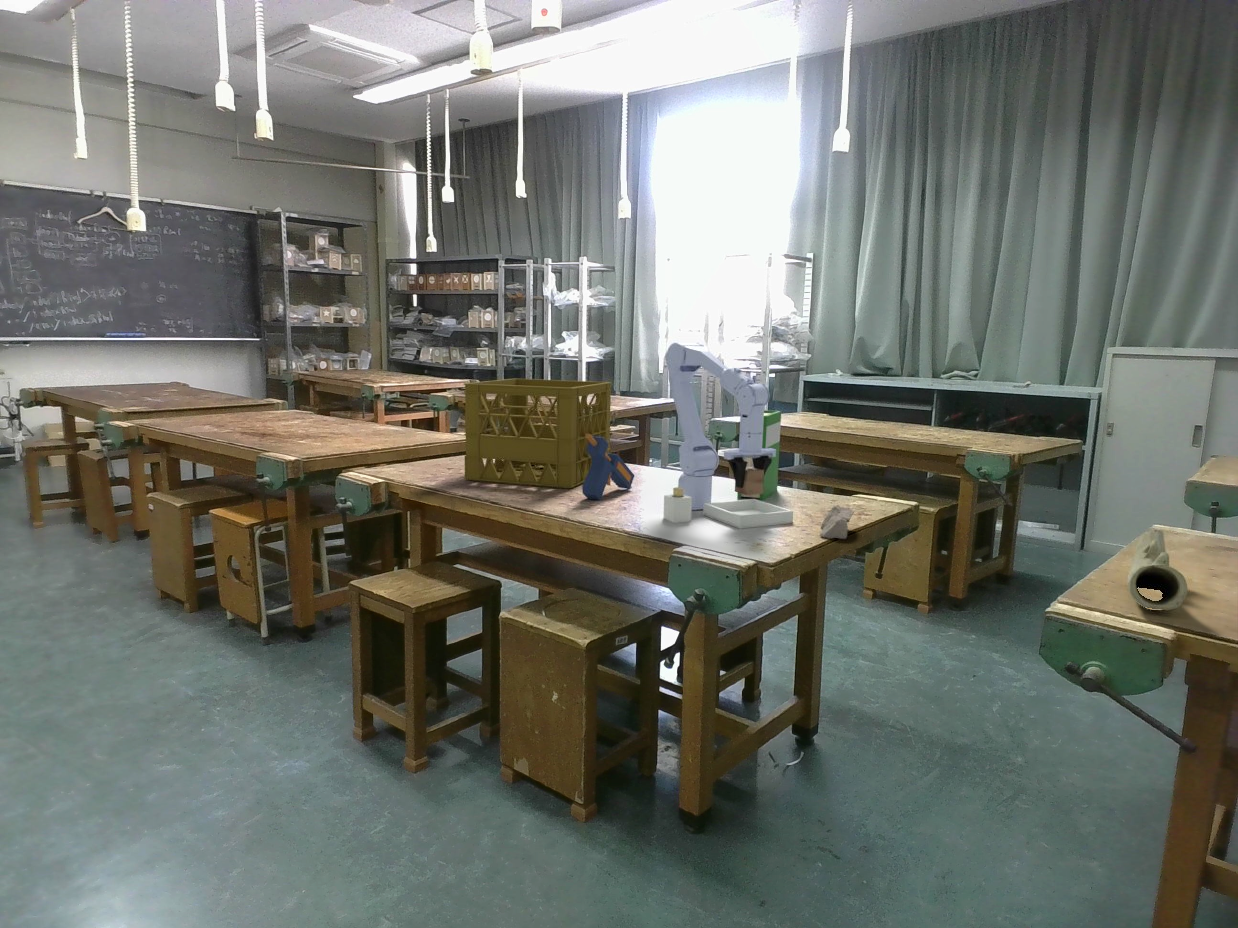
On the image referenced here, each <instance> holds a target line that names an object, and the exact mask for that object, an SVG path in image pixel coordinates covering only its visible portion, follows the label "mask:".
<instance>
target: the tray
mask: <svg viewBox="0 0 1238 928" xmlns="http://www.w3.org/2000/svg"><path fill="white" fill-rule="evenodd" d="M702 510H703V511H702V512H703V516H705V517H708V518H711V519H713V520H716V521H719V522H721V523H723V524H726V525H728V526H732V527H734V528H737V529H740V530H741V529H749V528H750V529H751V528H757V527H767V526H777V525H784V524H785V525H786V524H787V525H788V524H792V523H794V521H793V520H794V511H793V510H792V509H788V508H784V507H783V506H778V505H775V504H772V503H769V502H766V501H760V499H758V498H749V499H738V500H737V499H736V500H727V501H726V500H725V501H716V502H715V501H714V502H711V503H704V507H703V509H702Z"/></svg>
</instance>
